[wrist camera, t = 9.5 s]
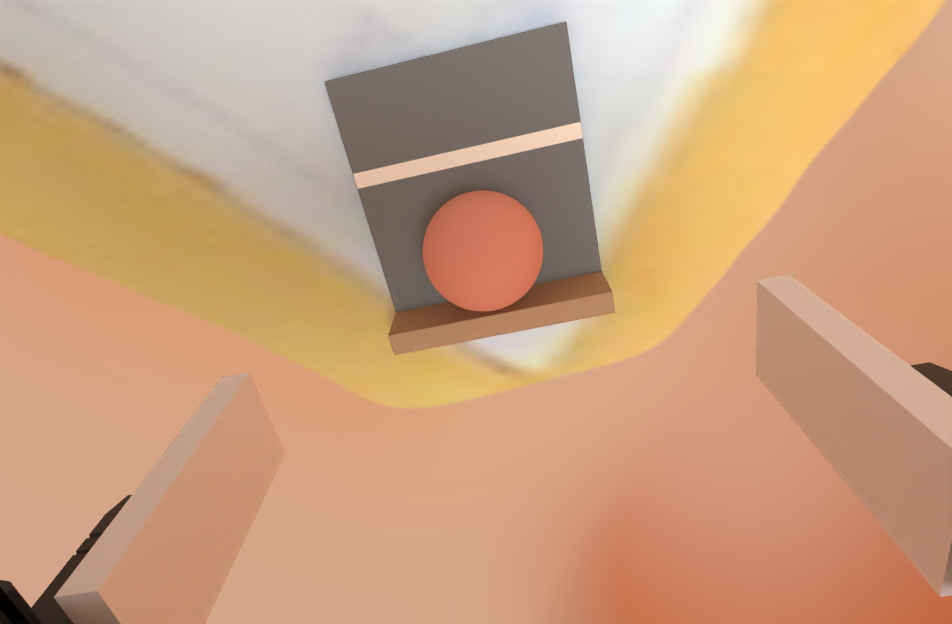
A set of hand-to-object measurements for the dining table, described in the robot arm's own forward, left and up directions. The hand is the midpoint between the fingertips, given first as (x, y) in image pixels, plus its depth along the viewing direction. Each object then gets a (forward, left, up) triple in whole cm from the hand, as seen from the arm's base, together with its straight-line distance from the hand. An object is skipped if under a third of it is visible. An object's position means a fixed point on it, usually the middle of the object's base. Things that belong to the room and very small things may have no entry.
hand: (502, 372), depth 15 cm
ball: (+1, -1, -17) cm, 17 cm away
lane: (-1, -1, -18) cm, 18 cm away
